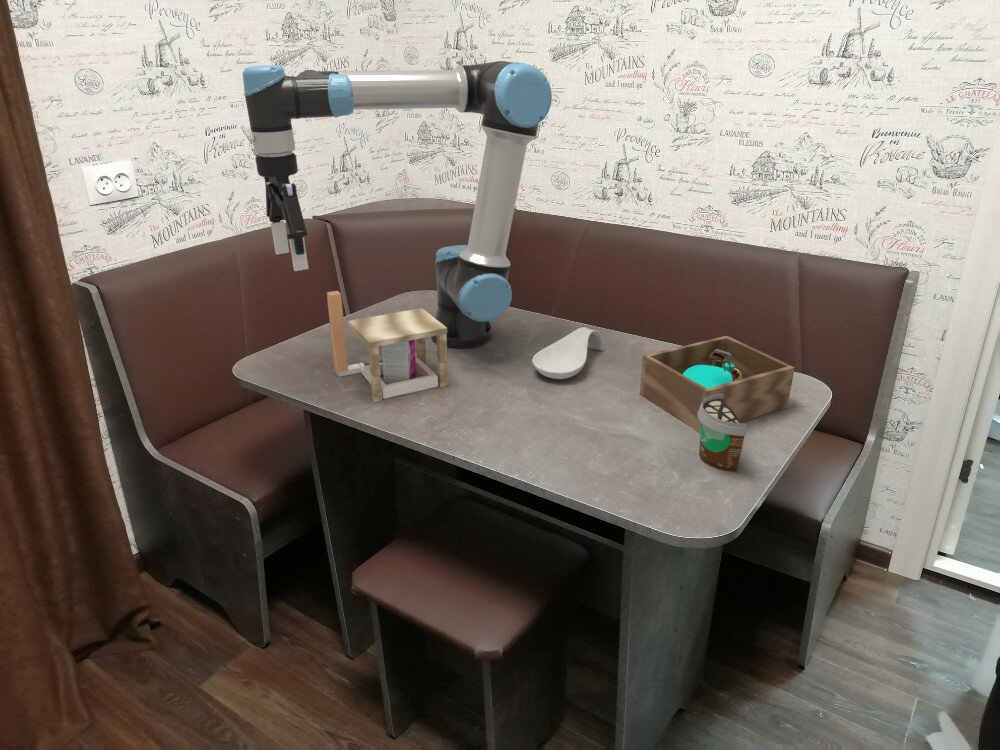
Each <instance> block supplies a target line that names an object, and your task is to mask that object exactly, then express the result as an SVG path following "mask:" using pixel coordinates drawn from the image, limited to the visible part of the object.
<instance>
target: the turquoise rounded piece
mask: <svg viewBox="0 0 1000 750" xmlns="http://www.w3.org/2000/svg"><path fill="white" fill-rule="evenodd" d="M723 354H724V355H728V359H729V360H731V356H732V355H731V353H728V352H725V351H722V350H719V349H715V351H714V352H712V353H711V354H710V356H709V358H710V359H711V360H712V361H713V364H712V366H709V365H695V366H692V367H690V368H688V369H687V370H686V371H685V372H684V373H683V375H684V376H686V377H688V378H690V379H691V380H693V381H695V382H697V383H698V384H700V385H702V386H704V387H706V388H711V387H714V386H718V385H722V384H725V383H729V382H733V381H736V380H740V379H742V374H741V372H740V371H739V370H738V369H736V368H734V364H731V363H729V362H728V361H726V357H725V356H724V355H723ZM713 356H714V357H713ZM717 356H719V357H721V358H722V359H723V360H718V359H716V358H717ZM716 363H718V364H723V366H722V368H720V367H716V366H715V365H716Z"/></svg>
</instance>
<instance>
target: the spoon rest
mask: <svg viewBox="0 0 1000 750" xmlns="http://www.w3.org/2000/svg"><path fill="white" fill-rule="evenodd" d="M603 338H604V337H603V335H602V334H601V332H599V330H596V329H590V328H589V327H585V326H583V327H579V328H576V329H575V330H574V331H572V332H570V333H568V334H567V335H565V336H564V337H562V338H561V339H559V340H557V341H554V342H553V343H551V344H550V345H547V346H546V347H544V348H542V349H541V350H539V351H537V353H535V354H534V355H533V357H532V360H531V363H532V365H533V367H534V368H535V370H536V371H538V372H539V373H540V374H541V375H543V376H544V377H546V378H549V379H552V380H565V379H566V380H567V379H570V378H573V377H574V376H576V375H577V374H578V373H580V372H581V370H582V369H583V368H584V366H585V364H586V361H587V357H588V348H589V349H592V350H596V351H600V352H602V351H605V341H604V339H603Z"/></svg>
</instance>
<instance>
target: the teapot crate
mask: <svg viewBox="0 0 1000 750" xmlns="http://www.w3.org/2000/svg"><path fill="white" fill-rule="evenodd" d="M715 349H719V350H722V351H725V352H728V353H731V355H732V356H731V360H729V359H728V355H724V354H723V355H724V356H725V357H726V361H728V362H729V363H731V364H734V368H736V369H738V370H739V371H740V372H741V374H742V379H740V380H736V381H733V382H729V383H725V384H722V385H718V386H714V387H711V388H706V387H704V386H702V385H700V384H698V383H697V382H695V381H693V380H691V379H690V378H688V377H686V376H684V375H683V373H684V372H685V371H686V370H687V369H688V368H690V367H692V366H695V365H709V366H712V364H713V361H712V360H711V359H710V358H709V356H710V354H711V353H712V352H714V351H715ZM713 357H714V356H713ZM716 359H718V360H723V359H722V358H721V357H719V356H717V358H716ZM715 366H716V367H720V368H722V366H723V364H718V363H716V365H715ZM795 368H796V367H795V366H792V365H790V364H788V363H786V362H784V361H782V360H780V359H777V358H776V357H773V356H771V355H769V354H767V353H765V352H762V351H760V350H759V349H756V348H754V347H752V346H750V345H747V344H745V343H743V342H741V341H739V340H737V339H735V338H733V337H731V336H729V335H723V336H719V337H716V338H711V339H707V340H702V341H699V342H695V343H691V344H687V345H682V346H677V347H673V348H669V349H664V350H661V351H657V352H652V353H647V354H644V355H642V363H641V376H640V377H641V378H640V386H639V387H640V389H639V396H641V397H643V398H644V399H646V400H648V401H649V402H651V403H652V404H654V405H656V406H657V407H659V408H661V410H663V411H665V412H667V413H668V414H670V415H672V416H673V417H675V418H676V419H677V420H679V421H680V422H682V423H684V424H685V425H687V426H689V427H690V428H692V429H693V430H695V431H696V432H698V433H699V434H700V427H701V421H700V420H699V418H698V415H697V414H698V410H699V408H700V405H701V404H702V403H703V401H704V400H705V399H706V398H708V397H710V396H713V395H718V394H723V400H724V402H725V403H726V404H727V405H728V406H729V407H730V408H731V409H732V410H733V411H734V413H735V414H736V416H737V418H738V419H739V421H740V422H741V423H742V422H744V421H748V420H750V419H753V418H757V417H761V416H764V415H766V414H770V413H773V412H777V411H779V410H783V409H787V408H788V406H789V401H790V400H789V399H790V394H791V390H792V385H793V384H792V383H793V381H794V380H793V379H794V374H795Z"/></svg>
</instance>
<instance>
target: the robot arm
mask: <svg viewBox="0 0 1000 750" xmlns="http://www.w3.org/2000/svg"><path fill="white" fill-rule="evenodd" d="M242 80H243V81H242V82H243V90H244V98H245V103H246V104H245V105H246V109H247V110H246V111H247V115H248V122H249V127H250V131H251V135H252V136H250V137H249V139H248V140H249V142H250V143H253V144H252V145H253V150H254V153H255V154H257V155H256V157H254V158H255V164H256V172H257V175H258V176H260V177H262V178H263V179H264V184H265V203H266V204H265V205H266V206H265V208H266V213H265V215H266V216H267V218H268V220H269V222H270V226H271V234H272V239H273V246H274V252H275V255H281V254H288V253H290V252H291V260H292V267H293V271H294V272H298V271H303V270H309V262H308V257H307V256H308V255H307V250H306V249H307V247H306V242H305V236H307V235H308V231H307V227H306V224H305V220H304V216H303V212H302V209H301V205H300V201H299V197H298V191H297V185H296V183H295V182H294V183H290V179H289V178H290V176H293V175H296V174H297V173H298V172H299V167H298V162H297V161H298V160H297V155H296V154H295V153H294V151H295V150H296V144H295V138H294V131H293V130H294V129H293V126H292V120H295V119H296V120H299V119H312V118H313V119H314V118H331V117H332V118H333V117H334V118H339V117H343V116H350V115H351V114H352V113H353V112H354V110H355V111H357V110H398V109H399V110H401V109H402V110H404V109H406V110H408V109H409V110H411V109H413V110H414V109H415V110H417V109H456V110H457V112H458V113H462V114H463V113H471V114H472V113H473V114H480V115H482V121H481V129H482V130H483V132H484V133H485V135H486V140H485V144H484V145H485V146H484V147H485V148H484V152H483V157H482V163H481V169H480V176H479V179H478V180H479V181H478V187H477V192H476V197H475V203H474V208H473V215H472V219H471V225H470V231H469V235H468V236H469V237H468V242H467V244H458V245H449V246H444V247H441V248H439V249H437V251H436V252H435V253H436V254H435V261H434V264H435V268H436V269H435V273H436V276H435V277H436V292H437V293H436V297H437V299H436V300H437V310H436V312H435V313H436V314H435V315H434V318H435V319H436V320H438V321H439V322H440V323H441V324H443V325H444V326H445V327H447V333H446V338H447V348H451V349H472V348H476V347H480V346H483V345H485V344H488V343H489V342H490V341H491V340H492V339H493V327H492V324H491V322H492V321H494V320H496V319H498V318H499V317H500V316H502V315H503V314H504V313H506V311H507V310H508V309H509V307H510V305H511V302H512V299H513V298H512V296H513V291H512V287H511V285H510V283H509V281H508V280H509V279H508V278H509V274H510V269H511V261H510V260H509V258H508V257H507V255H506V254H507V248H508V243H509V238H510V232H511V229H512V223H513V217H514V213H515V207H516V203H517V199H518V198H517V196H518V192H519V186H520V182H521V176H522V171H523V166H524V162H525V157H526V151H527V146H528V144H529V143H531V142H532V141H533V140H535V139H536V138H537V132H538V129H539V128H538V127H539V124H540V123H541V122H542V121H543V120H544V119H545V118H546V117H547V116H548V114H549V113H550V108H551V106H552V101H553V99H552V98H553V97H552V96H553V95H552V94H553V93H552V88H551V85H550V83H549V80H548V78H547V76H545V74H544V73H543V72H542V70H540V69H538V68H537V67H535V66H532V65H531V64H527V63H525V62H513V61H512V62H511V61H507V60H506V61H505V60H498V61H490V62H486V63H479V64H462V65H460V64H459V65H457V66H456V67H454V69H453V70H448V69H447V70H443V69H442V70H440V69H439V70H438V69H437V70H337V71H335V70H322V71H321V70H320V71H319V70H315V69H306V70H304V71H301V72H299V73H298V74H297V75H296V76H293V75H292V76H291V75H287V74H286V73H285V69H284V67H283V66H282V65H276V64H274V65H273V64H271V65H269V64H268V65H266V64H265V65H263V64H262V65H252V66H246V67H245V68H244V70H243V71H242ZM286 227H287V228H286ZM287 230H288V233H289V234H287ZM288 240H289V242H288ZM289 247H290V249H289ZM431 340H432V341H433V342H434V343H435V344H437V338H436V335H435V336H431Z"/></svg>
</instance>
